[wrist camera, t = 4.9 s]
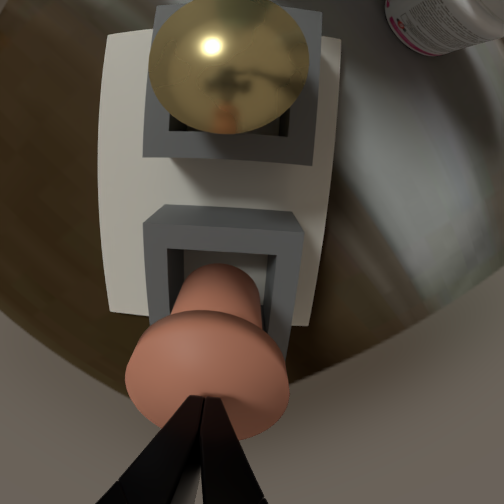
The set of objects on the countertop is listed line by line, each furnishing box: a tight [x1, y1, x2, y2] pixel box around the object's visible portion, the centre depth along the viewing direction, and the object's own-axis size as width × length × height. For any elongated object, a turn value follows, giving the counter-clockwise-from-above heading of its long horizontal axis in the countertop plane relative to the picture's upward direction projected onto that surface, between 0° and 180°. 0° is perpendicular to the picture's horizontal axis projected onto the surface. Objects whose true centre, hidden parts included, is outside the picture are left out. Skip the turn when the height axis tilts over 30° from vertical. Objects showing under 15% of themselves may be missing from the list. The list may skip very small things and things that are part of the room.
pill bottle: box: [385, 0, 504, 56], centre depth 8 cm, size 5×5×8 cm
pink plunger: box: [125, 263, 290, 440], centre depth 10 cm, size 5×5×6 cm
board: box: [98, 4, 341, 360], centre depth 13 cm, size 12×16×4 cm
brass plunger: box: [148, 0, 309, 134], centre depth 10 cm, size 5×5×6 cm
